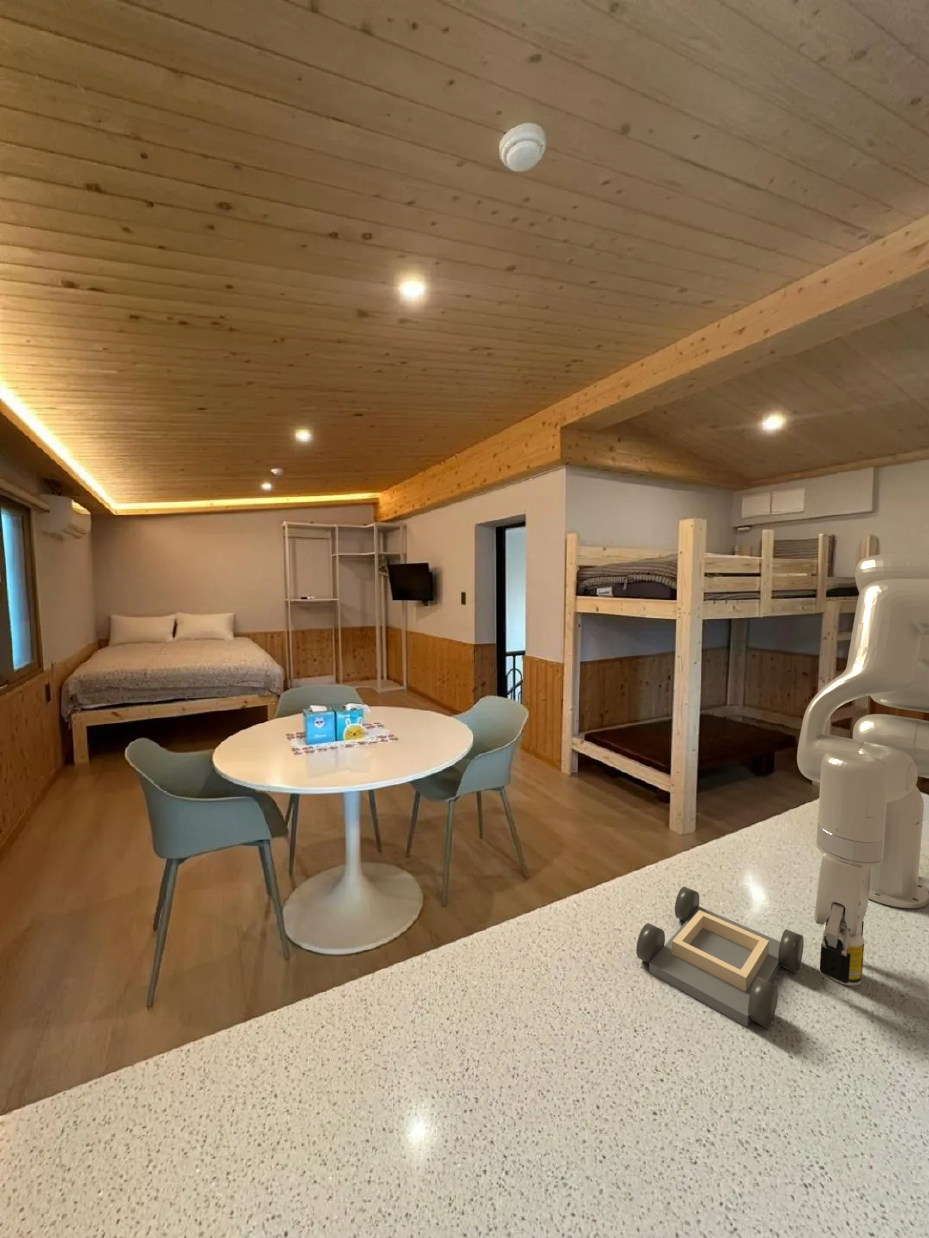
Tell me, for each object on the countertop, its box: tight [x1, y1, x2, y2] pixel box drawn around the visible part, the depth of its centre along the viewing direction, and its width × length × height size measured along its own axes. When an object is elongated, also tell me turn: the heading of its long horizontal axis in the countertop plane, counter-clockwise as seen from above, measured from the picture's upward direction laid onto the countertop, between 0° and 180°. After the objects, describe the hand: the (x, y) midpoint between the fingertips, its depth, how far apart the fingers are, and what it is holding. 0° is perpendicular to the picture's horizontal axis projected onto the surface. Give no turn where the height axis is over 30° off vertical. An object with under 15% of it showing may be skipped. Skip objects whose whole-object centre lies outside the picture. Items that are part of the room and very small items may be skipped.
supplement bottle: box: [822, 924, 865, 987], centre depth 75 cm, size 5×5×8 cm
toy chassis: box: [635, 886, 805, 1029], centre depth 78 cm, size 18×17×5 cm
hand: (841, 958), depth 75 cm, fingers open, 9 cm apart
